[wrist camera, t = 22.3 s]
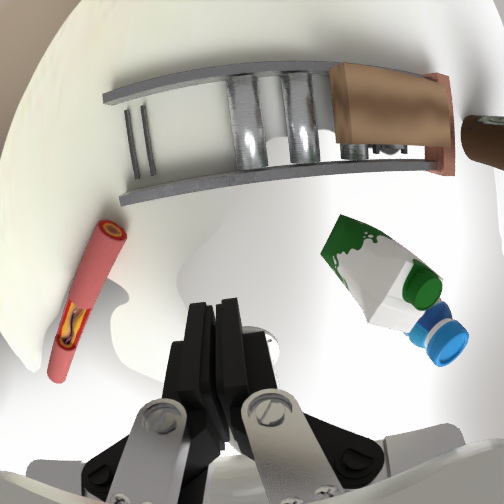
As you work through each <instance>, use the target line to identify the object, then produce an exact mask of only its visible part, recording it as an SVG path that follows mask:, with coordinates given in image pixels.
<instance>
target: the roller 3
mask: <svg viewBox="0 0 504 504" xmlns="http://www.w3.org/2000/svg"><path fill="white" fill-rule="evenodd" d="M340 150H341V159H347V160H366V159H368V144H341V143H340Z"/></svg>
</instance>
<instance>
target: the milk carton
mask: <svg viewBox="0 0 504 504" xmlns="http://www.w3.org/2000/svg"><path fill="white" fill-rule="evenodd" d="M321 256H323V258H324V259H325V261H326V262H327V263H328V264H329V266H330V267H331V268H332V269H333V271H334V272H335V273H336V275H337V276H338V277H339V278H340V280H341V281H342V282H343V283H344V285H345V286H346V288H347V289H348V290H349V292H350V293H351V294H352V296H353V297H354V298H355V300H356V301H357V302H358V304H359V305H360V307H361V308H362V309H363V312H364V314H365V317H366V319H367V322H368V323H369V324H374V325H377V326H381V327H386V328H389V329H393V330H398V331H402V332H406V333H409V332H410V331H411V329H412V328H413V327H414V325H415V324H416V322H417V321H418V319H419V318H420V317H422V316H423V314H424V313H425V311H426V310H427V309H429V308H431V307H432V306H433V305H434V304H435V303H436V302H437V300H438V299H439V297H440V295H441V292H442V282H443V279H442V278H441V277H440V276H439V275H438V274H436V273H435V272H434V271H433V270H432V269H431V268H429V267H428V266H427V265H426V264H425V263H424V262H422V261H421V260H420V259H419V258H417V257H416V256H415V255H414V254H412V253H411V252H410V251H408V250H407V249H406V248H404V247H403V246H402V245H400V244H399V243H397V242H396V241H395V240H393V239H392V238H390V237H389V236H387V235H386V234H384V233H383V232H382V231H380V230H378V229H376V228H374V227H372V226H370V225H367V224H365V223H363V222H360V221H358V220H355V219H352V218H349V217H347V216H344V215H341V214H340V216H339V218H338V220H337V222H336V224H335V226H334V228H333V230H332V232H331V234H330V236H329V238H328V240H327V242H326V244H325V246H324V248H323V250H322V252H321Z"/></svg>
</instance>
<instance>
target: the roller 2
mask: <svg viewBox="0 0 504 504" xmlns="http://www.w3.org/2000/svg"><path fill="white" fill-rule="evenodd" d="M281 83H282V91H283V99H284V106H285V115H286V123H287V132H288V141H289V150H290V161H291V163H315V162H320V150H319V140H318V139H319V138H318V128H317V118H316V109H315V101H314V93H313V86H312V78H311V74H309V73H302V72H298V73H288V74H284V75H282V76H281Z"/></svg>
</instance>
